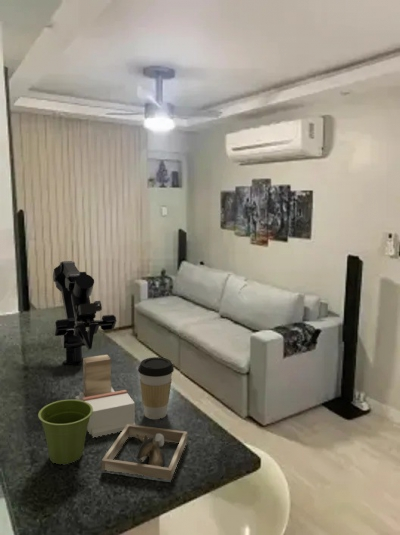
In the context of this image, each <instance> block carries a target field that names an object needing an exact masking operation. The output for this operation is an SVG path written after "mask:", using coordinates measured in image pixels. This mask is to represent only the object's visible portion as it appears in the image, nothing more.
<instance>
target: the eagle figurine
mask: <svg viewBox="0 0 400 535" xmlns="http://www.w3.org/2000/svg"><path fill="white" fill-rule="evenodd" d="M136 436H137V437H138V438H137V439H138V440H140V441H141V442H142V444H141V445H140V447H139V449H138V451H137V454H136V460H137V461H139V460H140V461H141V460H146V459H148V457H149V460H148V464H147V465H153V466H160V467H161V466H163V465H164V466H165V453H164V452H163V450H162V449H161V448H160V447H163V446H164V445H165V442H164V436H163V435H162V434H160V433H157V434H156V436H155V440H153V439H154V435H153V437H151V438H150V439H148V438H147V435H145V437H144V439H143V438H141V437H140V436H139V435H138V434H136Z"/></svg>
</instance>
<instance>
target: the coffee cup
mask: <svg viewBox="0 0 400 535" xmlns="http://www.w3.org/2000/svg"><path fill="white" fill-rule="evenodd" d="M174 370H175V368H174V365H173V363H172V361H171V359H168V358H165V357H161V356H160V357H157V356H154V357H148V358H147V357H146V358H145V359H142V360H141V361H140V363H139V366H138V369H137V372H138V373H139V376H140V378H139V381H140V383H139V384H140V391H141V398H142V399H141V400H142V405H143V413H144V415H143V416H144V417H145V418H147V419H149V420H160V418H161V419H163V418H165V417H166V416H167V412H168V404H169V400H170V394H171V387H172V376H173V372H174Z"/></svg>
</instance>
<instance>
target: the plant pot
mask: <svg viewBox="0 0 400 535" xmlns="http://www.w3.org/2000/svg"><path fill="white" fill-rule="evenodd" d="M92 412H93V407H92V406H91V405H90V404H89V403H87V402H85V401H81V400H76V399H61V400H57V401H53V402H51V403H48V404H46V405H44V406H43V407H42V408H41V409H40V410H39V411H38V414H37V416H38V419H39V420H40V422H41V426H42V428H43V431H44V436H45V439H46V445H47V451H48V455H49V459H50V462H51V461H52V462H51V463H53V464H54V463H56V464H55V465H57V464H58V465H61V464H67V463H71V462H73V461H76V460H78V459H79V458H80V459H81V457H83V454H84V453H83V452H84V448H85V442H86V435H87V432H88V430H87V425H88V423H89V419H90V416H91V414H92ZM80 459H79V460H80ZM79 460H78V461H79ZM76 462H77V461H76Z"/></svg>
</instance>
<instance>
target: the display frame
mask: <svg viewBox="0 0 400 535" xmlns="http://www.w3.org/2000/svg"><path fill="white" fill-rule="evenodd" d="M157 433H160V434H162V435H163V436H164V441H170V442H179V444H178V445H177V447H176V449H175V451H174V453H173V456H172V459H171V461H170V464H169V465H168V467H167V466H166V467H165V466H164V467H160V466H153V465H148V464H145V463H140V462H139V463H137V462H132V461H127V460H126V461H124V460H119V459H114V457H115V456H116V454H117V453H118V451H119V450H120V448H121V447H122V446H123V444H124V443H125V441H126V440H127V439H128V440H129V438H130V437H129V436H133V437H137V436H136V434H138V435H139V436H140V437H141V438H144V437H145V435H147V438H149V439H150V438H151V437H153V435H154V439H155V436H156V434H157ZM128 437H129V438H128ZM128 440H127V441H128ZM127 441H126V442H127ZM186 443H187V444H188V431H184V430H183V431H182V430H178V429H177V430H176V429H170V428H169V429H167V428H162V427H161V428H160V427H152V426H147V425H146V426H145V425H138V424H135V425H131V424H127V425H126V426H125V428H124V429H123V431H122V432H120V434H119V435H118V436H117V438H116V439H115V441H114V442H113V444H112V445H111V446H110V448H109V449H108V450H107V452H106V453H105V455H104V456H103V458H102V459H101V471H102V470H107V471H114V472H122V473H129V474H138V475H142V476H143V475H144V476H150V477H155V478H162V479H167V480H171V479H172V476H173V474H174V472H175V469H176V467H177V464H178V462H179V460H180V457H181V455H182V452H183V450H184V451H185V449H186V447H185V445H186V446H187V444H186ZM125 444H126V443H125ZM125 444H124V445H125ZM123 447H124V446H123ZM123 447H122V448H123ZM184 448H185V449H184ZM120 451H121V450H120ZM183 453H184V452H183ZM118 454H119V453H118ZM182 456H183V455H182ZM116 457H117V456H116ZM181 458H182V457H181ZM113 459H114V460H113ZM180 461H181V460H180ZM179 463H180V462H179ZM177 468H178V467H177ZM175 473H176V472H175Z"/></svg>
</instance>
